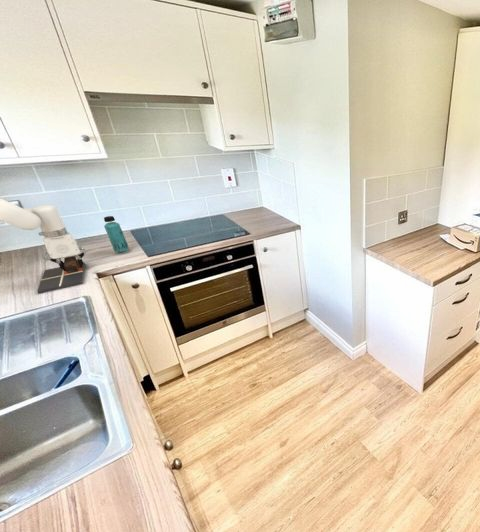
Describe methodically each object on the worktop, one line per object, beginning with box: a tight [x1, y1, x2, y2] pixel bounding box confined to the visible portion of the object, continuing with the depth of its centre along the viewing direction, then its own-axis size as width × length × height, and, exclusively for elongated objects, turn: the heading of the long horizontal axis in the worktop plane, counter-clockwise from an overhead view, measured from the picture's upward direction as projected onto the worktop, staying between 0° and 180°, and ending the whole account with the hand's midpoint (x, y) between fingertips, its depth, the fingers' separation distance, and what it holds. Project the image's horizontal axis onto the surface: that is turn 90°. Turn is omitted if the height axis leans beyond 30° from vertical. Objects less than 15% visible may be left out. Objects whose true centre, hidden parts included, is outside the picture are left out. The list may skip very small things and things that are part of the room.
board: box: [36, 261, 86, 294], centre depth 148 cm, size 14×24×1 cm, turn 39°
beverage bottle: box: [103, 215, 129, 253], centre depth 169 cm, size 6×7×20 cm
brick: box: [63, 256, 79, 273], centre depth 152 cm, size 11×4×5 cm, turn 41°
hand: (73, 267), depth 153 cm, fingers open, 5 cm apart
